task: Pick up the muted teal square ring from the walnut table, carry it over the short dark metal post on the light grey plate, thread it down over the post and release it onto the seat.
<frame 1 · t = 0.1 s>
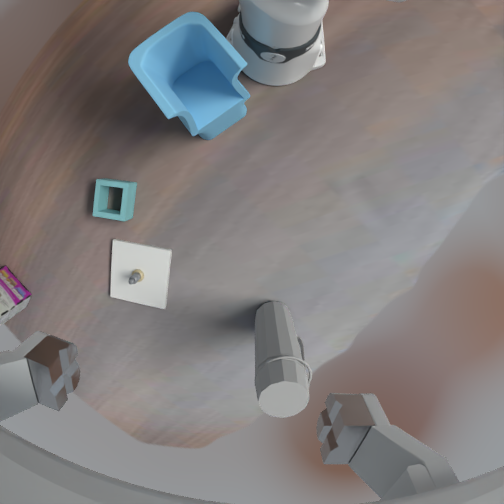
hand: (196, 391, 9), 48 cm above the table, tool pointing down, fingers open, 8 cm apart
candy bar box: (16, 286, 60), on the table
post stand: (140, 273, 58), on the table
water bottle: (277, 317, 60), on the table
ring: (118, 198, 55), on the table
vase: (212, 107, 51), on the table
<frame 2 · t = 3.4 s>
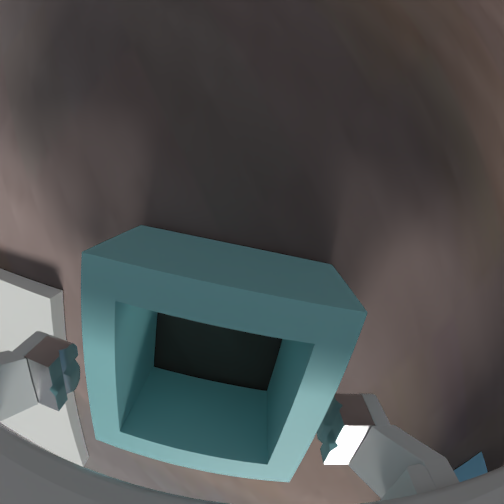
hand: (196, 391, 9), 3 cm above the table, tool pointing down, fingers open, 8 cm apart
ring: (218, 331, 11), on the table
vase: (434, 500, 16), on the table
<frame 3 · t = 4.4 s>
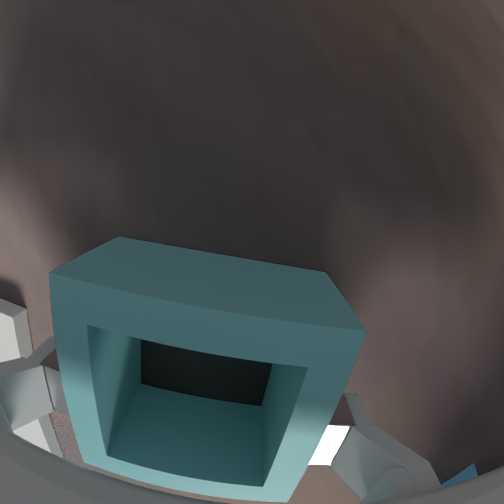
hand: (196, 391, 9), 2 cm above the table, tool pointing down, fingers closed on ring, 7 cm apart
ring: (206, 347, 10), on the table, touching gripper
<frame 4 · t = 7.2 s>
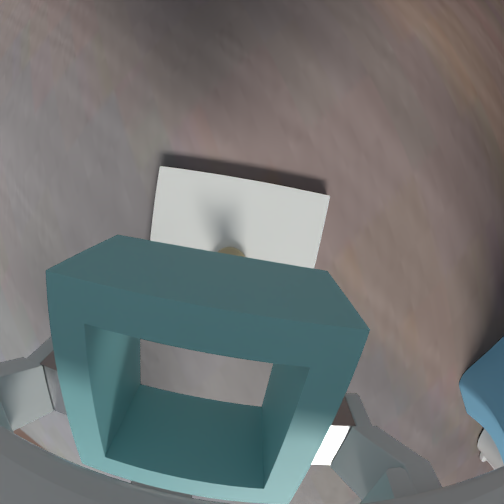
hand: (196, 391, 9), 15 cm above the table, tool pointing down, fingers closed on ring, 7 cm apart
post stand: (230, 259, 23), on the table
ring: (206, 347, 10), point 13 cm above the table, touching gripper
vase: (491, 373, 27), on the table
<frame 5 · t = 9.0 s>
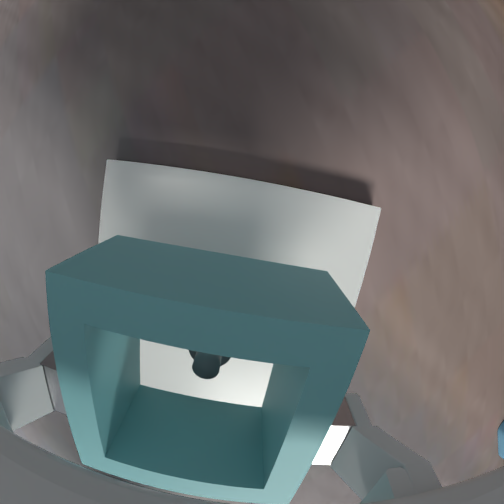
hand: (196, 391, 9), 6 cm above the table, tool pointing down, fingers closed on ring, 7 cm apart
post stand: (221, 305, 15), on the table
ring: (206, 347, 10), point 4 cm above the table, touching gripper
when the fingers open (5 cm above the table, at t = 10.3 s): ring drops 3 cm, resting on post stand.
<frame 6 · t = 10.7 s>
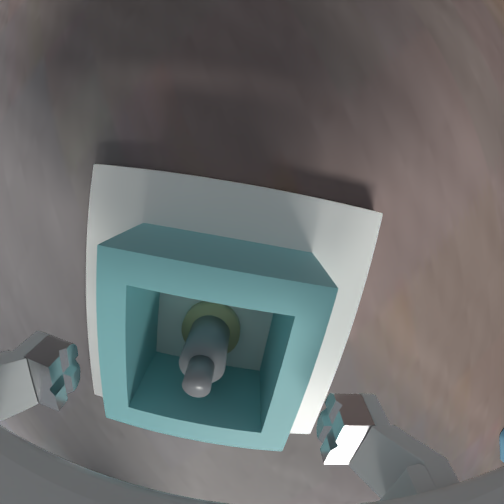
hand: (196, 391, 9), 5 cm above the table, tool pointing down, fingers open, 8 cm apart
post stand: (214, 316, 14), on the table
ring: (213, 316, 13), point 1 cm above the table, touching post stand
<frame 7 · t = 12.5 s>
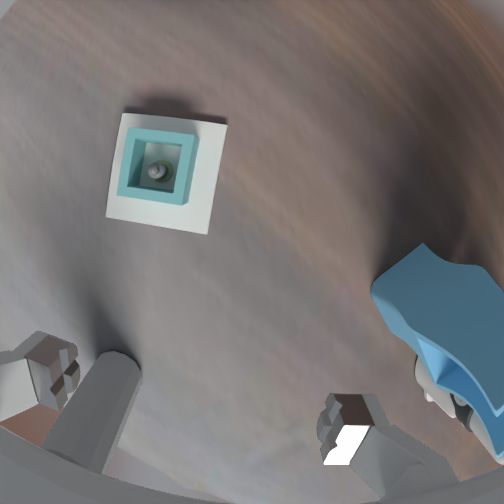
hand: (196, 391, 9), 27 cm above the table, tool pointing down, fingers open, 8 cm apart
post stand: (164, 171, 33), on the table
water bottle: (118, 373, 39), on the table
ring: (163, 166, 32), point 1 cm above the table, touching post stand
vase: (408, 291, 38), on the table
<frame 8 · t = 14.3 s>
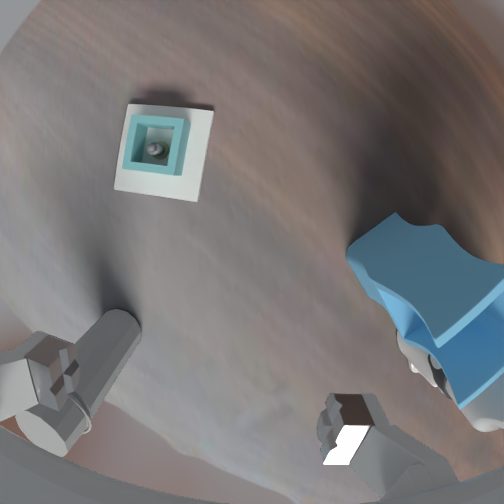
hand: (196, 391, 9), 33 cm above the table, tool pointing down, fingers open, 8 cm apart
post stand: (162, 150, 38), on the table
water bottle: (121, 331, 45), on the table
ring: (161, 146, 37), point 1 cm above the table, touching post stand
vase: (384, 258, 42), on the table
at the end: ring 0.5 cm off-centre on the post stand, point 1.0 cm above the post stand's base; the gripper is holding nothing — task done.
